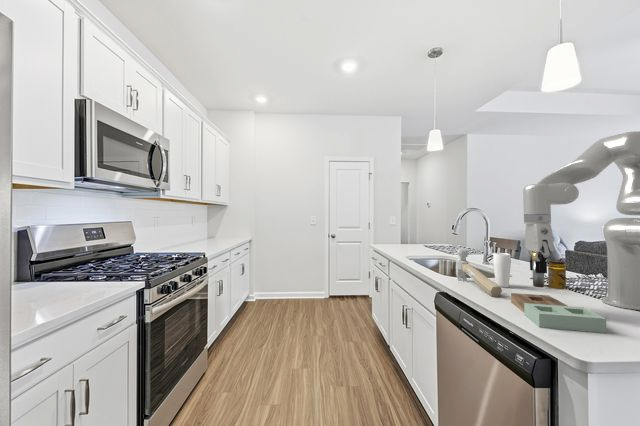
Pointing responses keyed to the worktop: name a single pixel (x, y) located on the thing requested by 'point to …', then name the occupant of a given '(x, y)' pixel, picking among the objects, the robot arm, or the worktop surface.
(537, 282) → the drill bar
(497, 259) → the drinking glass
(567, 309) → the frame
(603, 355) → the worktop surface
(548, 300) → the socket block
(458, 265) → the hammer
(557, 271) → the condiment
